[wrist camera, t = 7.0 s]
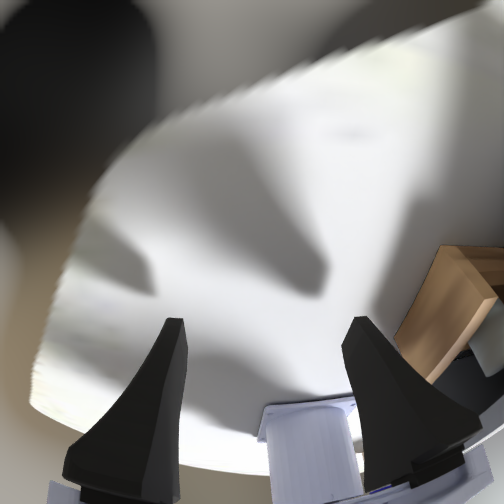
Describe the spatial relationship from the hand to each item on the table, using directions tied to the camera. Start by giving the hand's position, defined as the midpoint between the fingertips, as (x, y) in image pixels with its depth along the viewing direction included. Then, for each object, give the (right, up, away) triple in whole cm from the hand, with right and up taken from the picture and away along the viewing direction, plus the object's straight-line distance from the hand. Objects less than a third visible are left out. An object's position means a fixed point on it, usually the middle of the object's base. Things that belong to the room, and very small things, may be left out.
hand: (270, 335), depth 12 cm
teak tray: (+16, +1, +3) cm, 17 cm away
